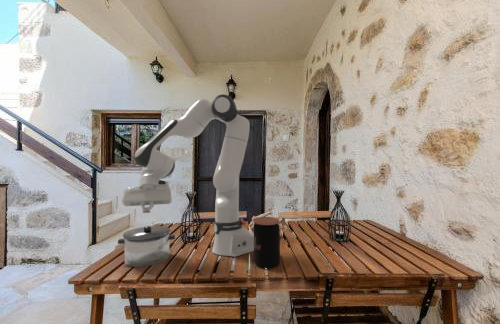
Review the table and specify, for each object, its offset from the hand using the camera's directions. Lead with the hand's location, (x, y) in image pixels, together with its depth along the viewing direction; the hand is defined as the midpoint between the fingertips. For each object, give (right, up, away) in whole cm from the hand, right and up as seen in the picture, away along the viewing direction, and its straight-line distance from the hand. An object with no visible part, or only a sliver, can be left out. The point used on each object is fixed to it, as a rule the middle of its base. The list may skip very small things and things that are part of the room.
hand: (146, 212), depth 105 cm
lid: (-1, -10, +3) cm, 11 cm away
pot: (-1, -21, +3) cm, 21 cm away
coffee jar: (+51, -20, -4) cm, 55 cm away
